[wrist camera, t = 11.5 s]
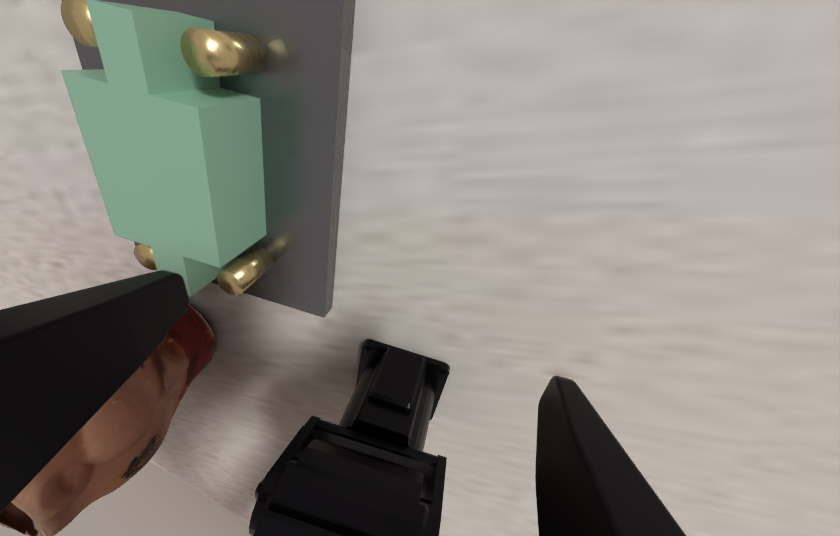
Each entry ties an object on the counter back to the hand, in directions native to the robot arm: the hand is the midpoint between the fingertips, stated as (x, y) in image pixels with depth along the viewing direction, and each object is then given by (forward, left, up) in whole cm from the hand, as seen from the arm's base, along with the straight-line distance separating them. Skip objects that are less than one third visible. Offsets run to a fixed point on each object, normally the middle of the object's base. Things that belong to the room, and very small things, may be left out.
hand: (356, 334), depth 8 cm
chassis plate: (-2, +12, -12) cm, 17 cm away
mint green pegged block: (-2, +12, -11) cm, 17 cm away
